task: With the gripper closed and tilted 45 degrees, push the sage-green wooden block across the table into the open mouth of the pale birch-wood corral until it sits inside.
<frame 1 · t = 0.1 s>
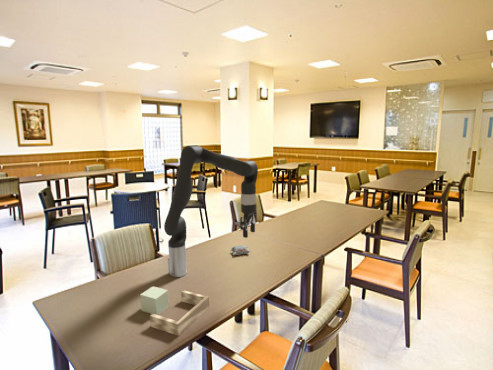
hand: (249, 234, 144), 29 cm above the table, fingers open, 8 cm apart
birch corral: (181, 316, 128), on the table
sage block: (155, 308, 134), on the table
packaged food: (240, 254, 195), on the table
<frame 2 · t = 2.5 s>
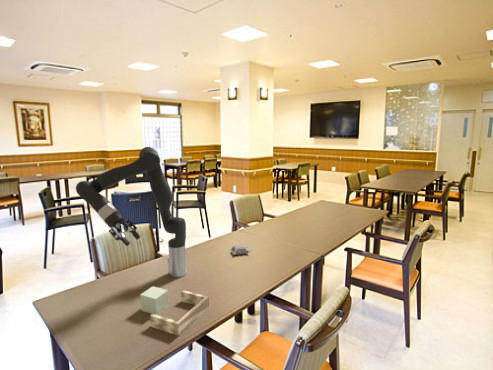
hand: (134, 241, 136), 30 cm above the table, fingers open, 8 cm apart
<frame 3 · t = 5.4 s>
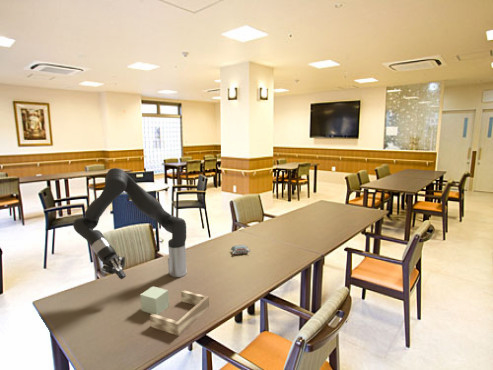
hand: (123, 277, 140), 11 cm above the table, fingers closed
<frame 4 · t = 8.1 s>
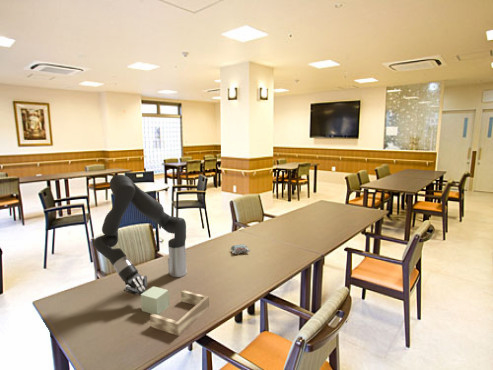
hand: (146, 298, 136), 4 cm above the table, fingers closed
sage block: (155, 308, 134), on the table, touching gripper
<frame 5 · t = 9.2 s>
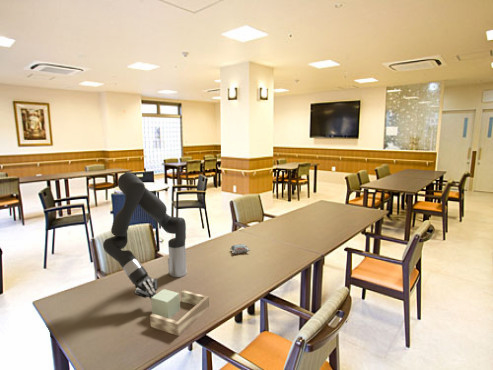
hand: (157, 301, 133), 4 cm above the table, fingers closed
sage block: (166, 311, 131), on the table, touching gripper
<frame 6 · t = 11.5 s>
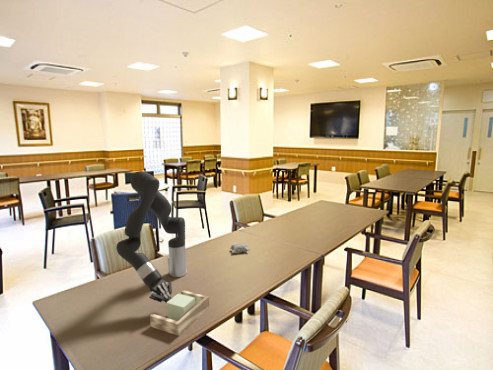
hand: (172, 305, 129), 4 cm above the table, fingers closed
sage block: (181, 317, 128), on the table, touching gripper
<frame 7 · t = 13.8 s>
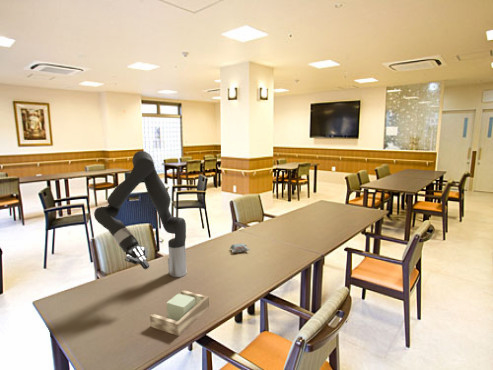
hand: (147, 267, 137), 17 cm above the table, fingers closed
sage block: (181, 317, 128), on the table
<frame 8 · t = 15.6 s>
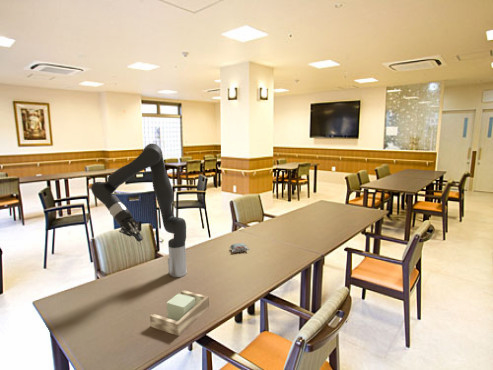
hand: (141, 240, 143), 28 cm above the table, fingers closed
at the end: sage block inside the target area (0.4 cm from its centre), on the table; sage block tilted 0°; the gripper is holding nothing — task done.
